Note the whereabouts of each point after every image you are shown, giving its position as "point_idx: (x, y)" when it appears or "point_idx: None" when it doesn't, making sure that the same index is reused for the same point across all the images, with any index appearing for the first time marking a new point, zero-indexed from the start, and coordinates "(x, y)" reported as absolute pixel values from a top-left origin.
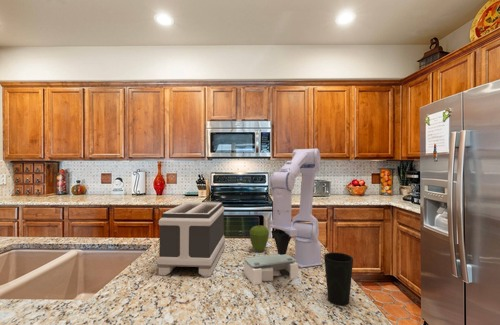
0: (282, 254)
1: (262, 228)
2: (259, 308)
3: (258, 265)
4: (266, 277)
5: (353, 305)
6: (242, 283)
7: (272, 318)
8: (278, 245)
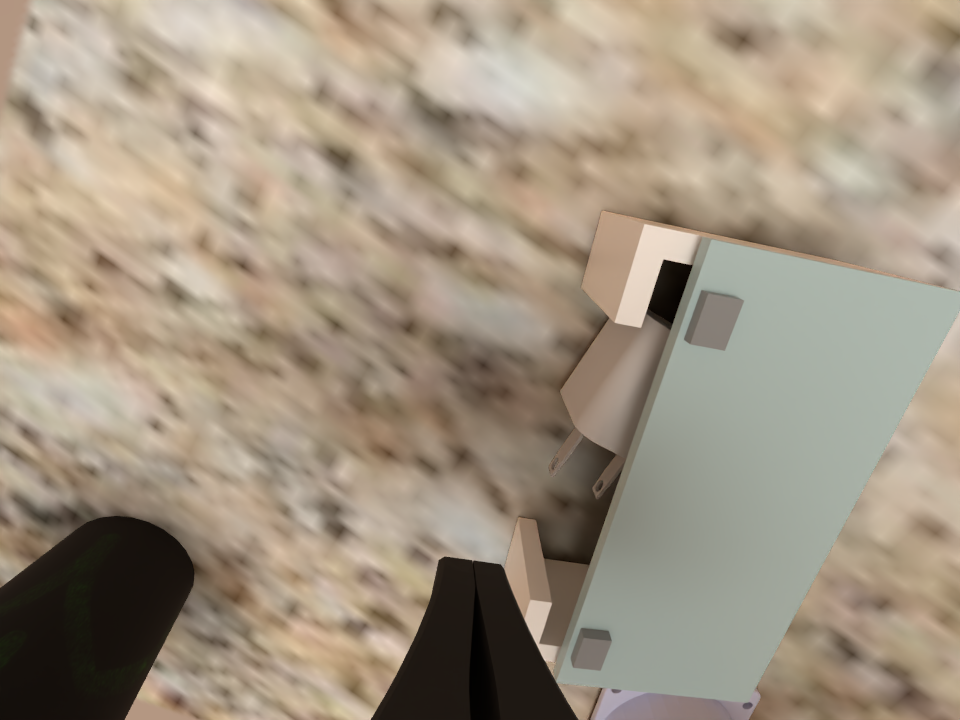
0: (433, 586)
1: None
2: (231, 18)
3: (680, 322)
4: (595, 353)
5: None
6: (691, 138)
7: (56, 26)
8: (439, 661)
